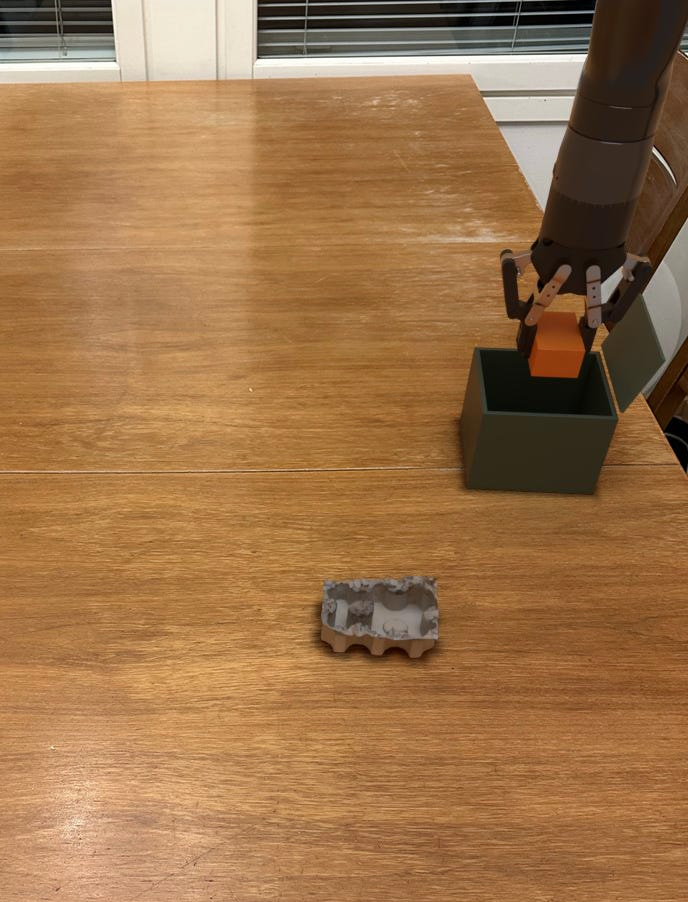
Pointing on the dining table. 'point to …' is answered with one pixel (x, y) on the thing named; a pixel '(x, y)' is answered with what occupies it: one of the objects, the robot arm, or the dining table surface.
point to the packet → (557, 346)
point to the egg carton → (381, 614)
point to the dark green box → (535, 425)
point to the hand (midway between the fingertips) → (550, 354)
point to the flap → (632, 353)
